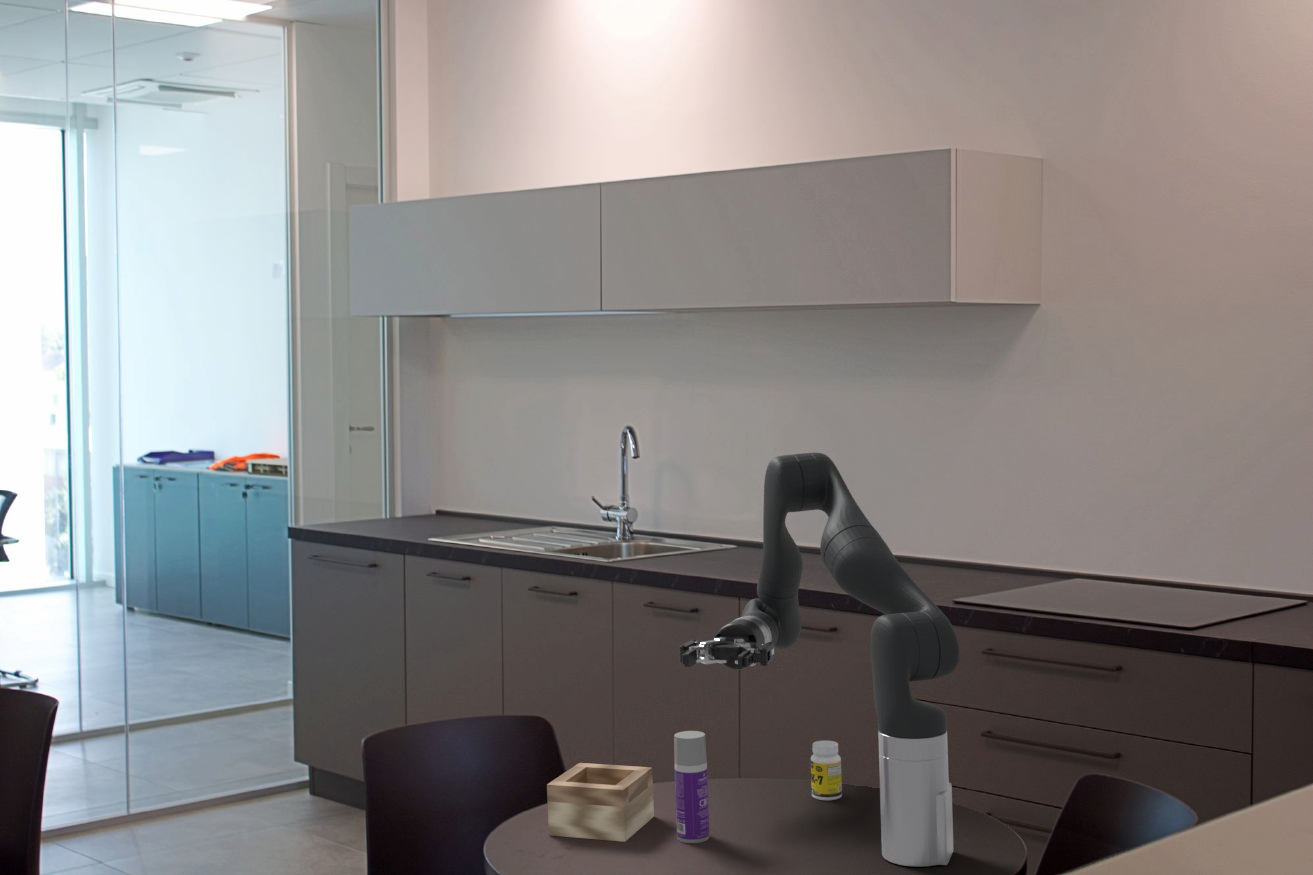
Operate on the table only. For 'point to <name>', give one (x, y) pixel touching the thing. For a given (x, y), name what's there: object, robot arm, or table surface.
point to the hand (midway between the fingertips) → (713, 661)
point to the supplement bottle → (826, 771)
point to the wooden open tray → (600, 801)
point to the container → (691, 787)
